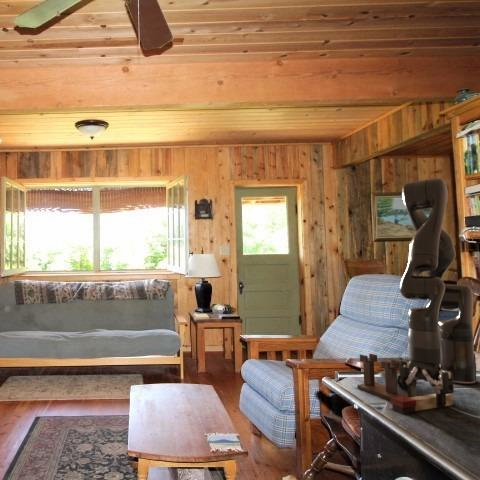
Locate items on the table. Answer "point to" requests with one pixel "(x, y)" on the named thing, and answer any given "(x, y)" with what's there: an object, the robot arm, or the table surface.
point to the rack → (390, 378)
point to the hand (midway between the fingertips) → (426, 402)
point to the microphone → (399, 382)
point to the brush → (417, 403)
